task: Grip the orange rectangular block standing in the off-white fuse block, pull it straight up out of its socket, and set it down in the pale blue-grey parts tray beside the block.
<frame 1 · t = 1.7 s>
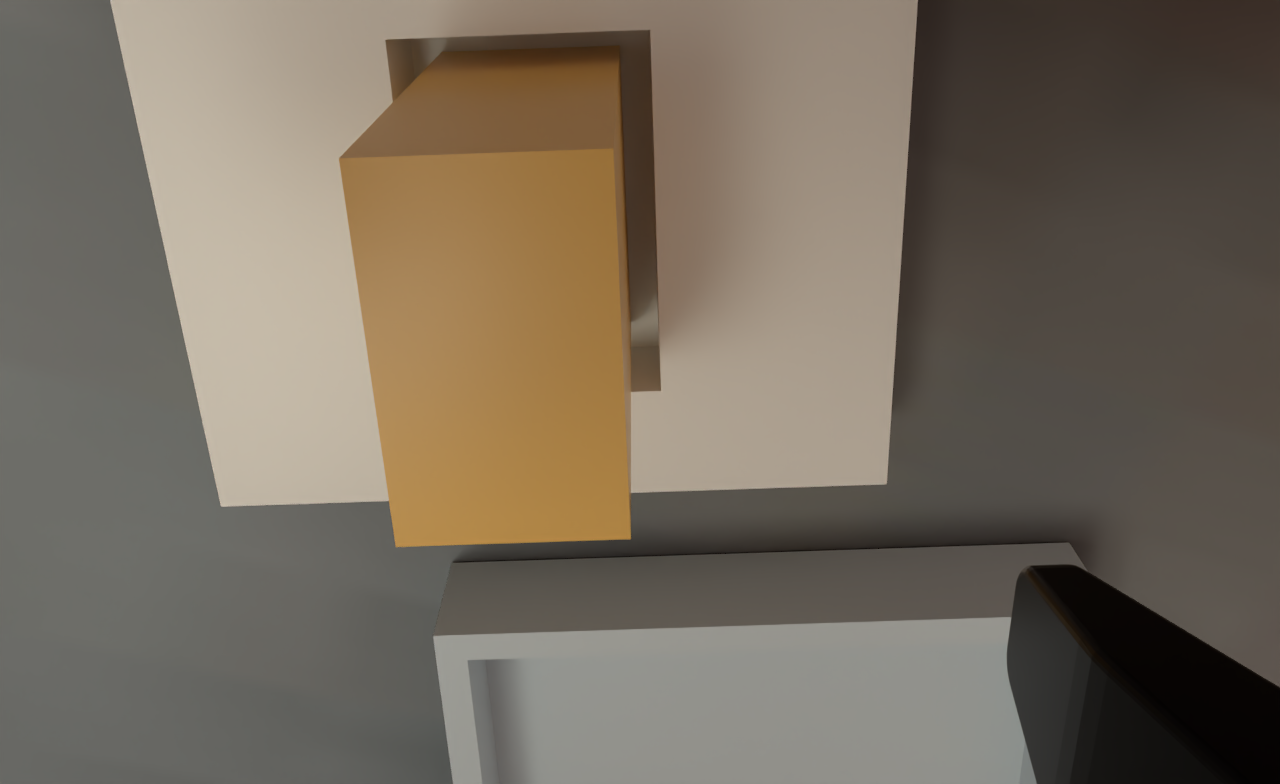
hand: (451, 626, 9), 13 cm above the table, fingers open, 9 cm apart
fuse block: (543, 186, 21), on the table
parts tray: (757, 771, 27), on the table
orange rectangular block: (541, 194, 20), resting on fuse block
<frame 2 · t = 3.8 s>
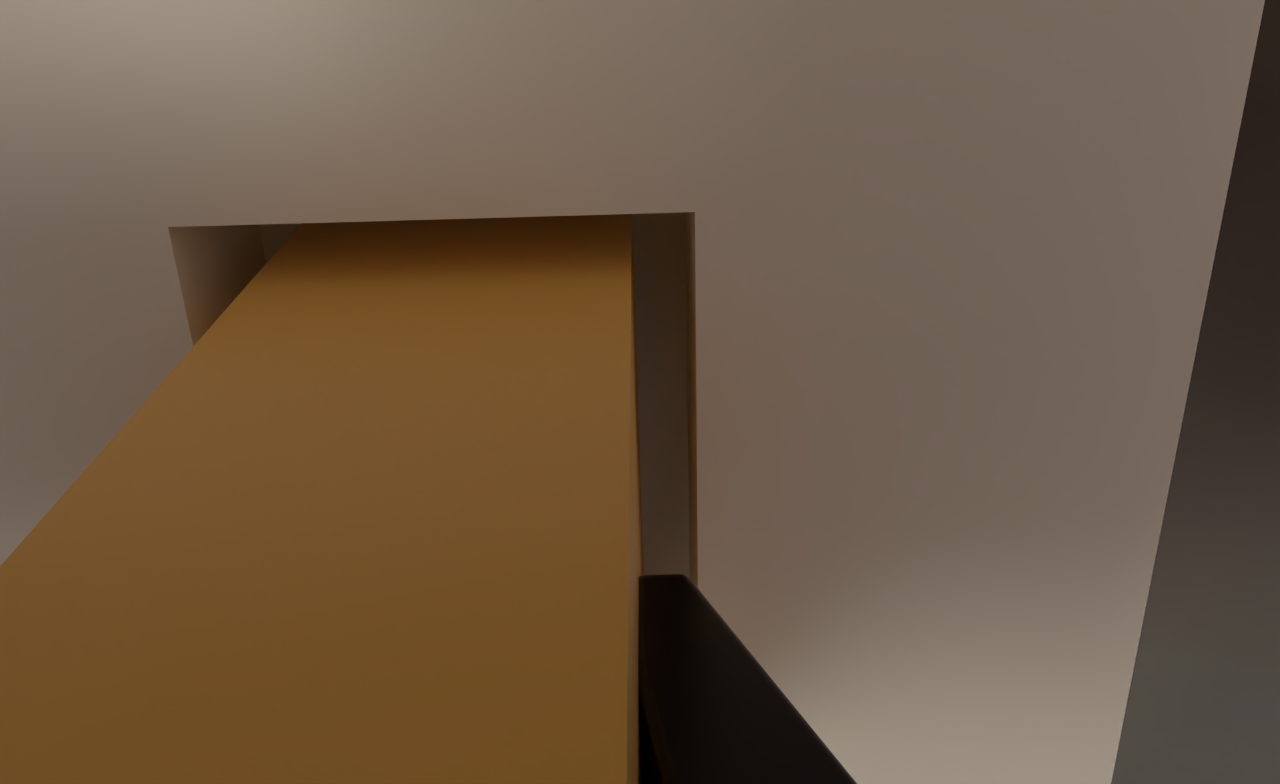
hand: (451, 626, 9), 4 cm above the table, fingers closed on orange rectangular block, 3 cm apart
fuse block: (498, 422, 12), on the table
orange rectangular block: (493, 444, 12), resting on fuse block, touching gripper
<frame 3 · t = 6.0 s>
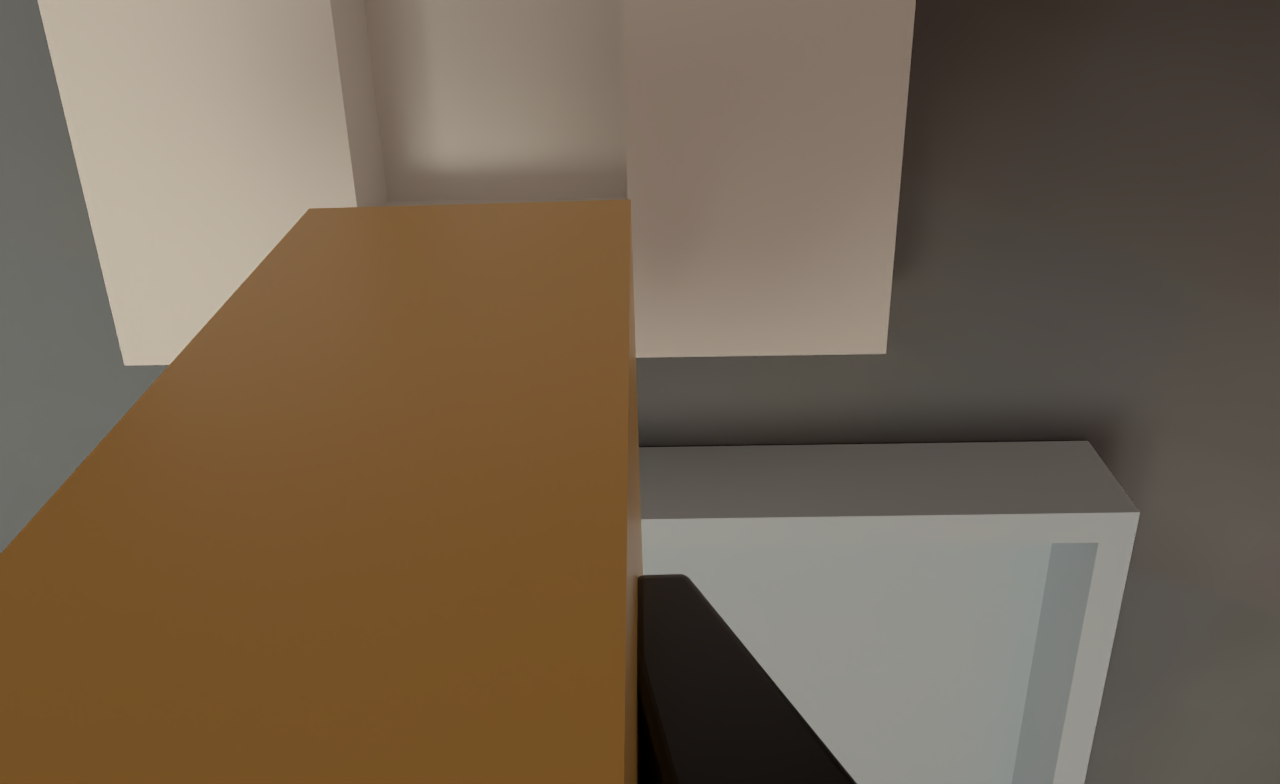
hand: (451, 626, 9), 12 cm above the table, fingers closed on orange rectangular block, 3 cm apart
fuse block: (499, 5, 18), on the table
parts tray: (735, 694, 24), on the table
orange rectangular block: (492, 441, 12), point 9 cm above the table, touching gripper
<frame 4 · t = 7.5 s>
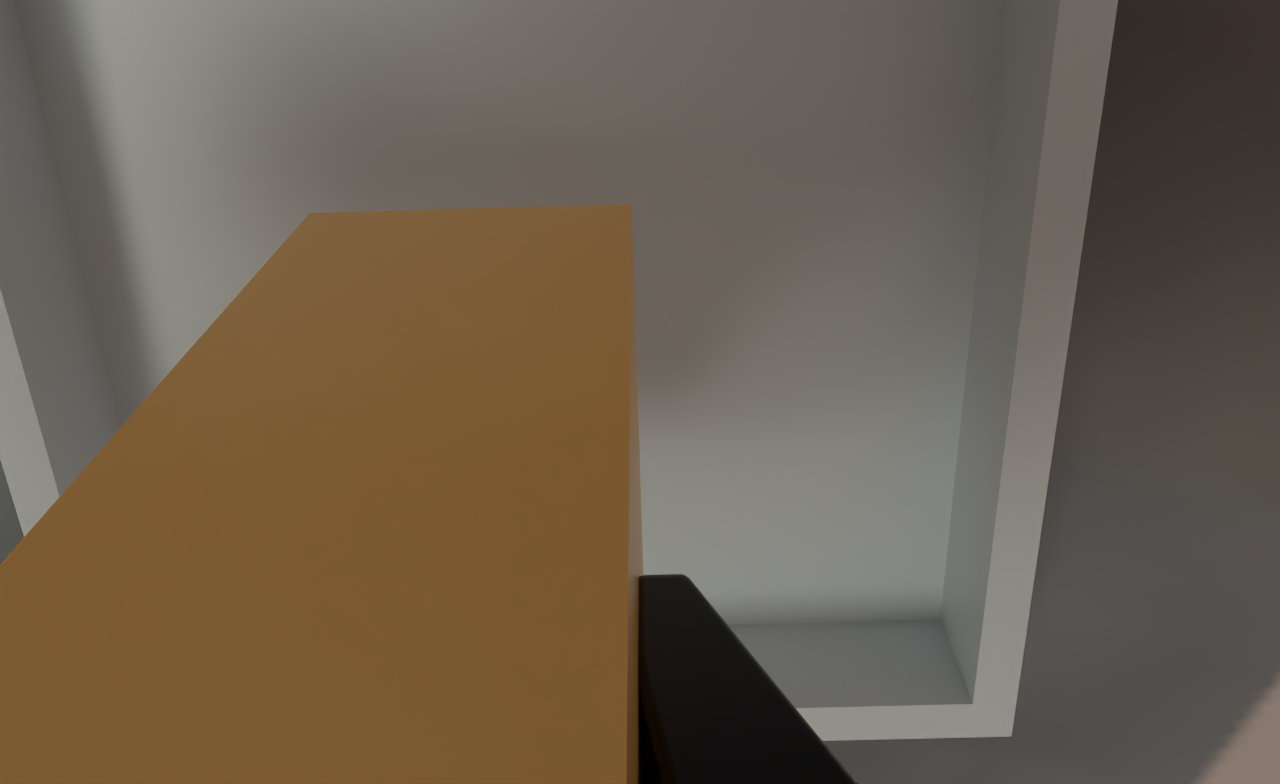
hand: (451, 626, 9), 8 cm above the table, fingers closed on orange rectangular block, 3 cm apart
parts tray: (535, 285, 16), on the table
orange rectangular block: (492, 445, 12), point 5 cm above the table, touching gripper
when the fingers open (5 cm above the table, at t = 8.6 s): orange rectangular block drops 2 cm, resting on parts tray.
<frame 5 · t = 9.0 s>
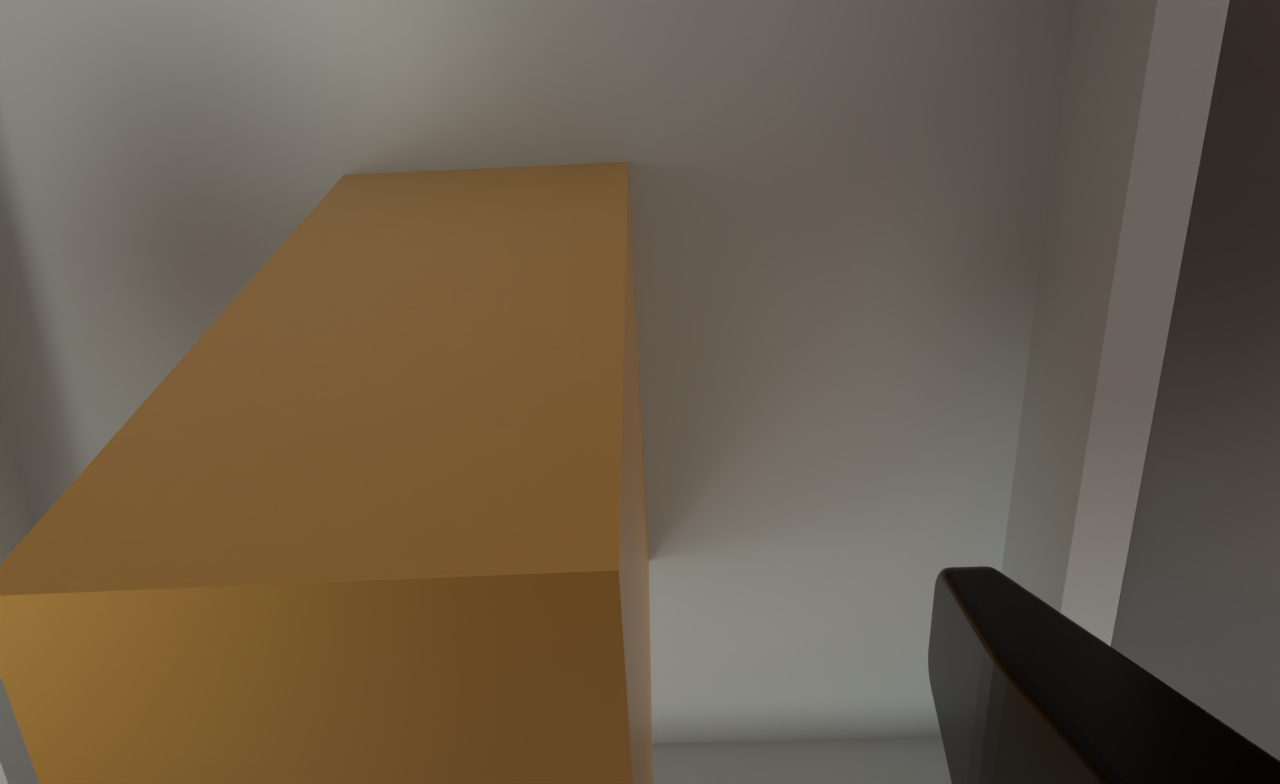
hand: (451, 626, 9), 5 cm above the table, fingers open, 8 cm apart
parts tray: (515, 361, 14), on the table
orange rectangular block: (508, 383, 13), point 1 cm above the table, touching parts tray
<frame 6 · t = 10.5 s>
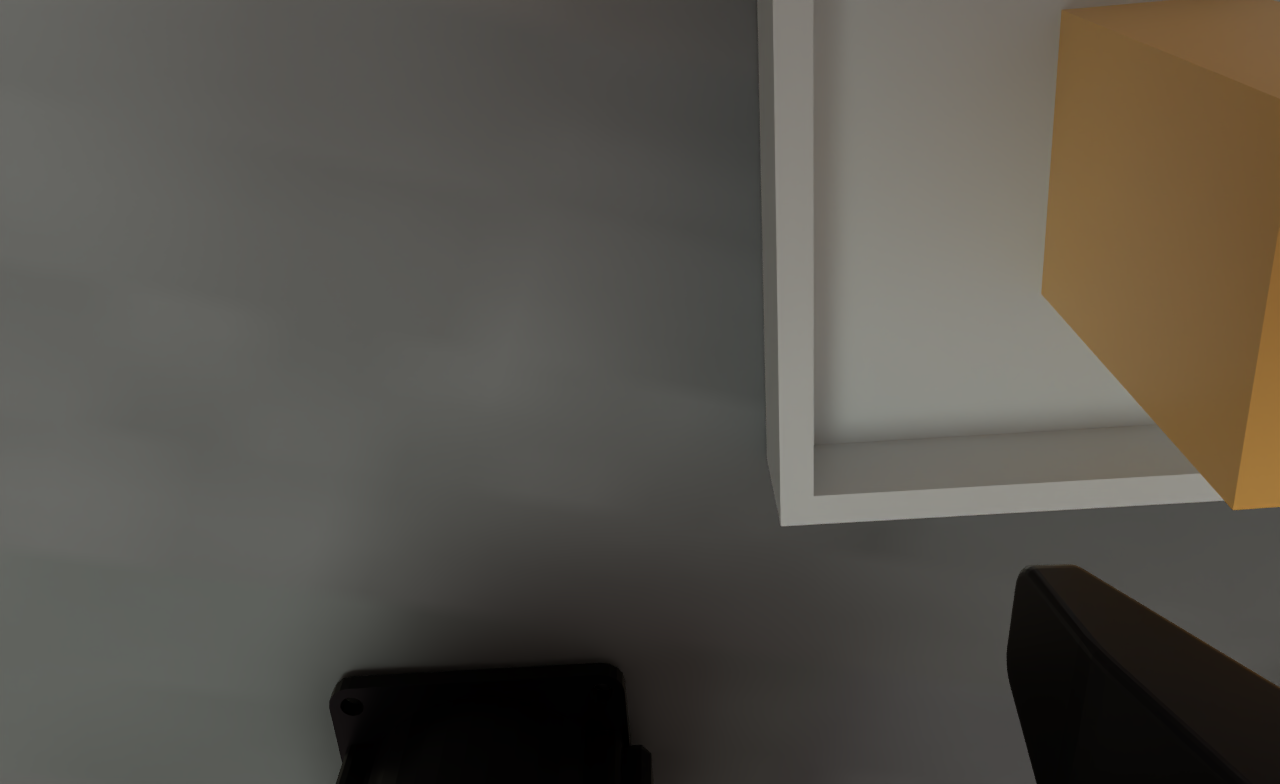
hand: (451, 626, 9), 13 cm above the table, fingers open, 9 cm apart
parts tray: (1126, 143, 20), on the table
orange rectangular block: (1138, 152, 20), point 1 cm above the table, touching parts tray
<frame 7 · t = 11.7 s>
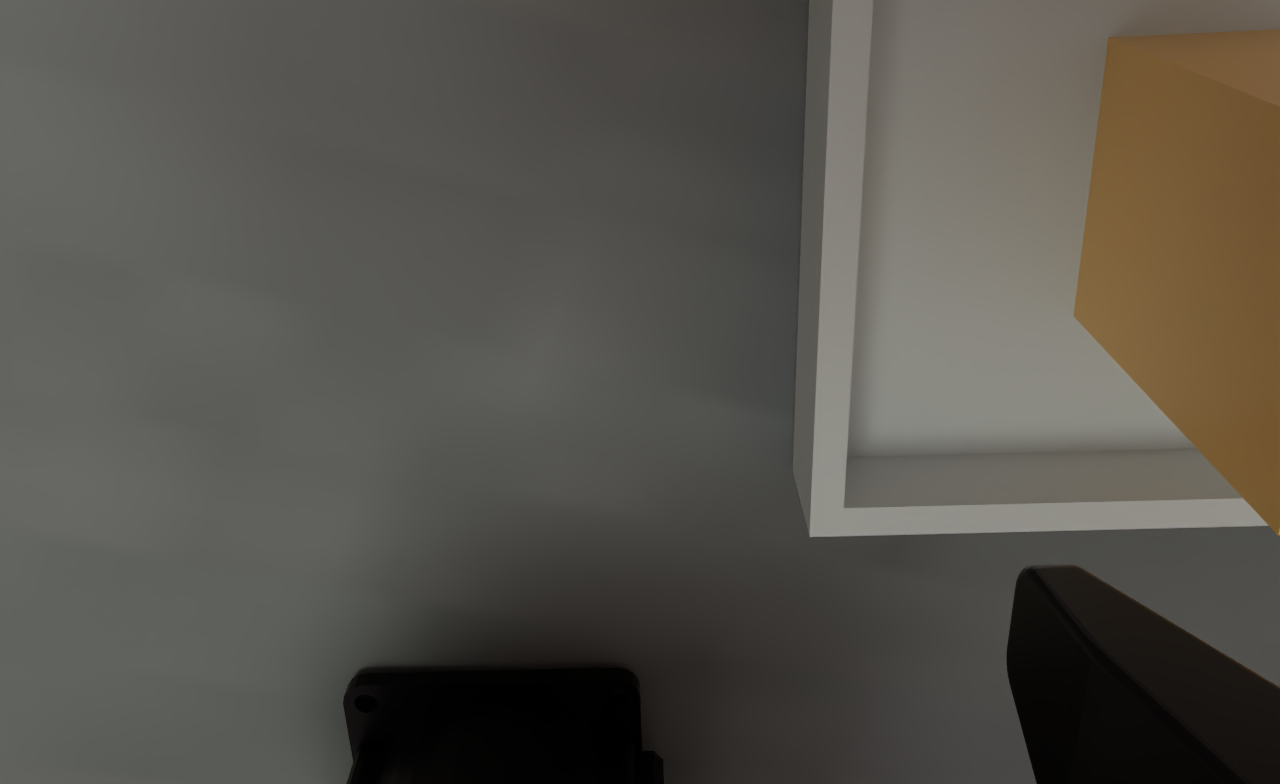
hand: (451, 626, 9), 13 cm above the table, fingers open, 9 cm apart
parts tray: (1162, 171, 21), on the table
orange rectangular block: (1175, 180, 20), point 1 cm above the table, touching parts tray
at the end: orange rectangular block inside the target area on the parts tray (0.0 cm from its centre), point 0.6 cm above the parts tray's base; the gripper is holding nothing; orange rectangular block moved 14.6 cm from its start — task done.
